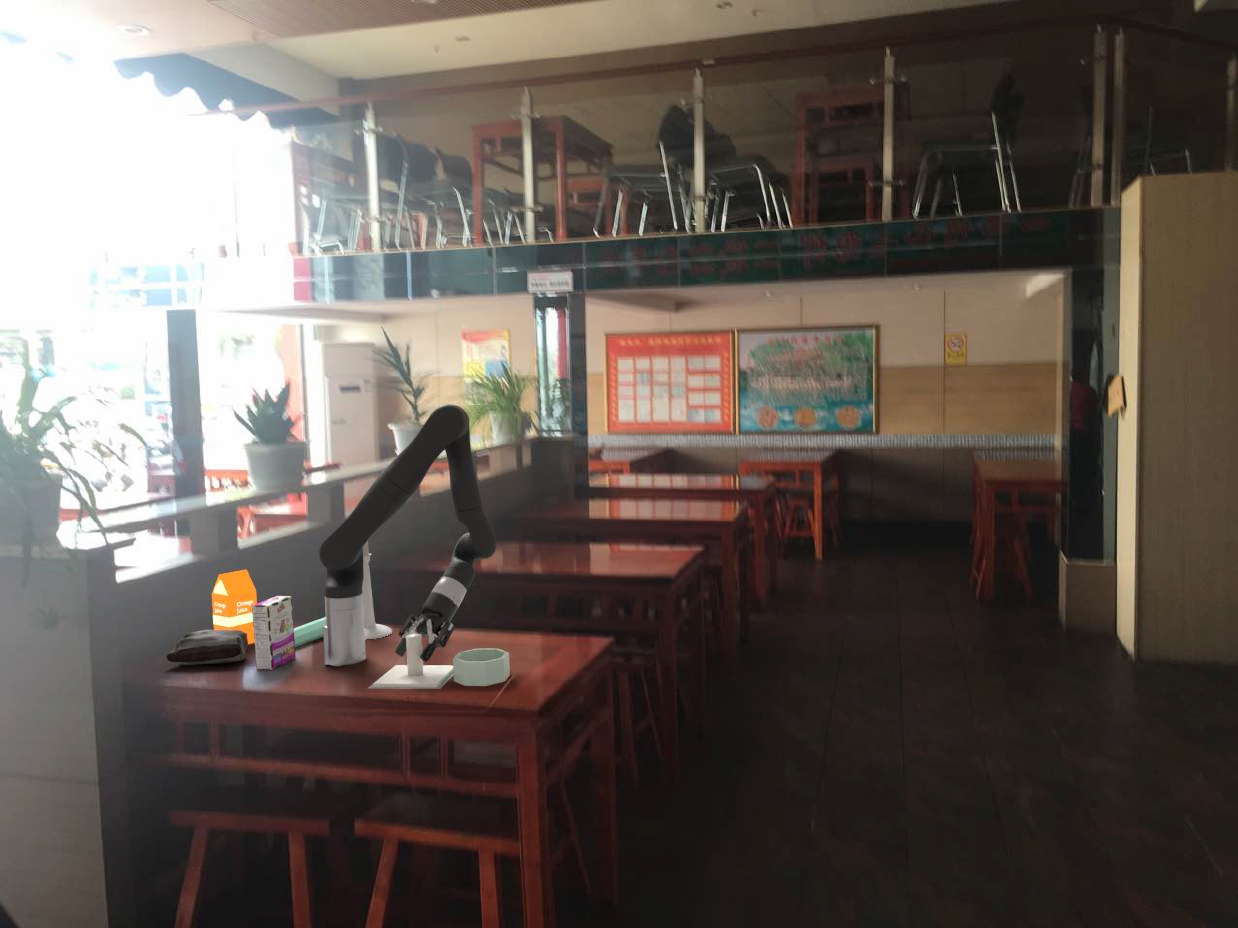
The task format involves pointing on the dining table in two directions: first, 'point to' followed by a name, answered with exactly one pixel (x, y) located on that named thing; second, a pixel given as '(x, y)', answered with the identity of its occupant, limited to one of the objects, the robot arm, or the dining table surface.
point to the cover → (414, 669)
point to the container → (309, 632)
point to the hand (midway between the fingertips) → (410, 657)
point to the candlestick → (370, 603)
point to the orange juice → (234, 603)
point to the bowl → (481, 667)
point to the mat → (415, 687)
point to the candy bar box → (273, 632)
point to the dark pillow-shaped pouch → (210, 647)
